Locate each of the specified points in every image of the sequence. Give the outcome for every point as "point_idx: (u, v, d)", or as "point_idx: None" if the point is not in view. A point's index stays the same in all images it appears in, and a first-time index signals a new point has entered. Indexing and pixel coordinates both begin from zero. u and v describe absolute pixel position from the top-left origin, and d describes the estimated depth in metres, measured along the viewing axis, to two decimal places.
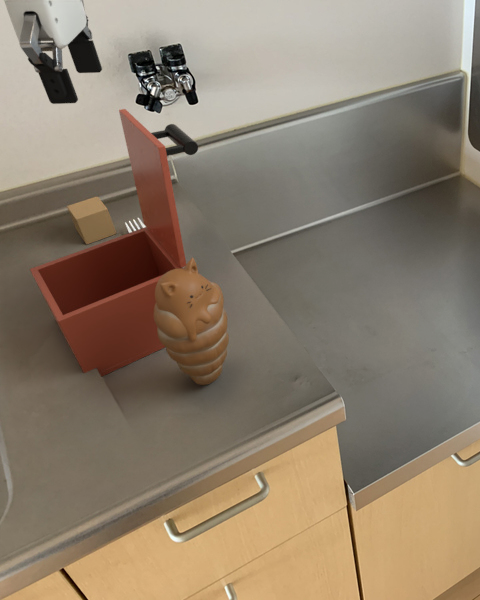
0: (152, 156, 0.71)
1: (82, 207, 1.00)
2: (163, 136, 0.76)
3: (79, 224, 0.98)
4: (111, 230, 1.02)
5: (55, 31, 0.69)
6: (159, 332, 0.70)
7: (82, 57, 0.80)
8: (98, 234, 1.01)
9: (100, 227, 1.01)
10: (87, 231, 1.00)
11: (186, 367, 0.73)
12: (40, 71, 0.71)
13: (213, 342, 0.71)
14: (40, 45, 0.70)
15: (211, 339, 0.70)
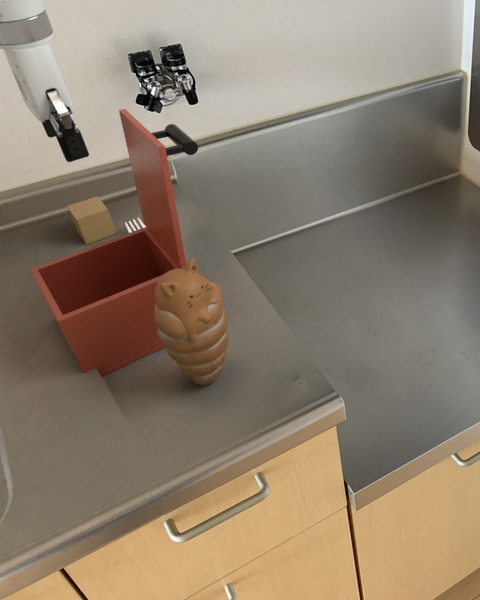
0: (152, 156, 0.71)
1: (82, 207, 1.00)
2: (163, 136, 0.76)
3: (79, 224, 0.98)
4: (111, 230, 1.02)
5: (70, 101, 0.85)
6: (159, 332, 0.70)
7: None
8: (98, 234, 1.01)
9: (100, 227, 1.01)
10: (87, 231, 1.00)
11: (186, 367, 0.73)
12: (64, 135, 0.85)
13: (213, 342, 0.71)
14: (56, 115, 0.85)
15: (211, 339, 0.70)
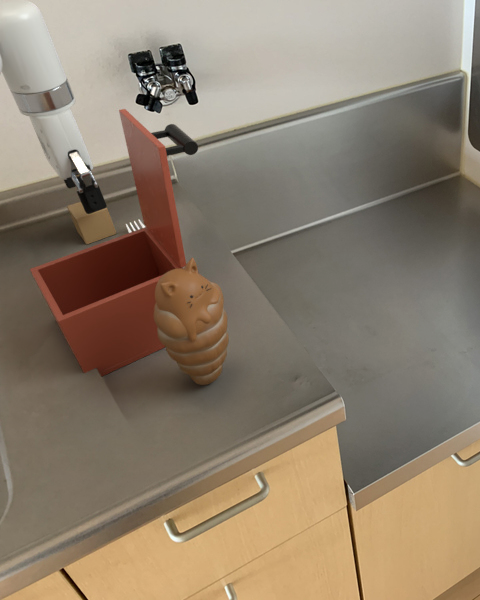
0: (152, 156, 0.71)
1: (82, 207, 1.00)
2: (163, 136, 0.76)
3: (79, 224, 0.98)
4: (111, 230, 1.02)
5: (89, 159, 0.92)
6: (159, 332, 0.70)
7: None
8: (98, 234, 1.01)
9: (100, 227, 1.01)
10: (87, 231, 1.00)
11: (186, 367, 0.73)
12: (84, 191, 0.92)
13: (213, 342, 0.71)
14: (77, 173, 0.92)
15: (211, 339, 0.70)
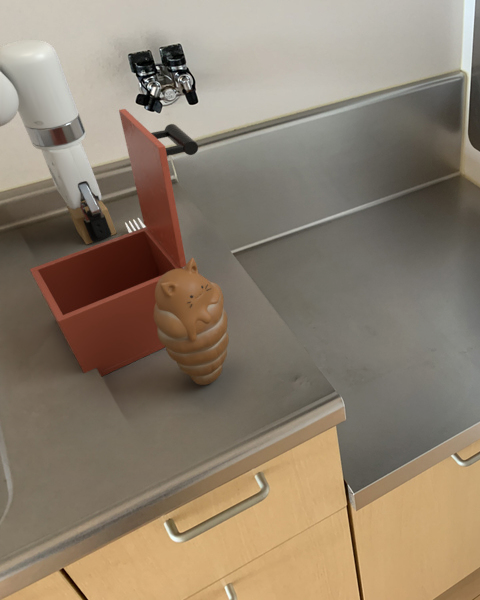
0: (152, 156, 0.71)
1: None
2: (163, 136, 0.76)
3: (79, 224, 0.98)
4: (111, 230, 1.02)
5: (98, 190, 0.95)
6: (159, 332, 0.70)
7: None
8: None
9: None
10: None
11: (186, 367, 0.73)
12: (91, 221, 0.97)
13: (213, 342, 0.71)
14: (86, 205, 0.96)
15: (211, 339, 0.70)
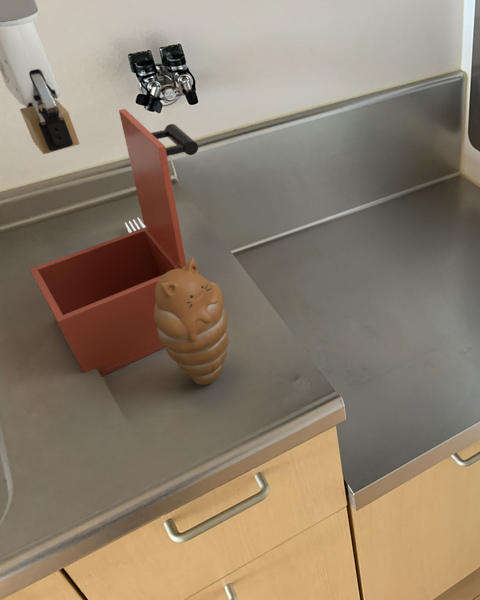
0: (152, 156, 0.71)
1: None
2: (163, 136, 0.76)
3: (34, 127, 0.83)
4: (73, 139, 0.87)
5: (55, 83, 0.80)
6: (159, 332, 0.70)
7: None
8: None
9: None
10: None
11: (186, 367, 0.73)
12: (47, 123, 0.83)
13: (213, 342, 0.71)
14: (41, 102, 0.81)
15: (211, 339, 0.70)
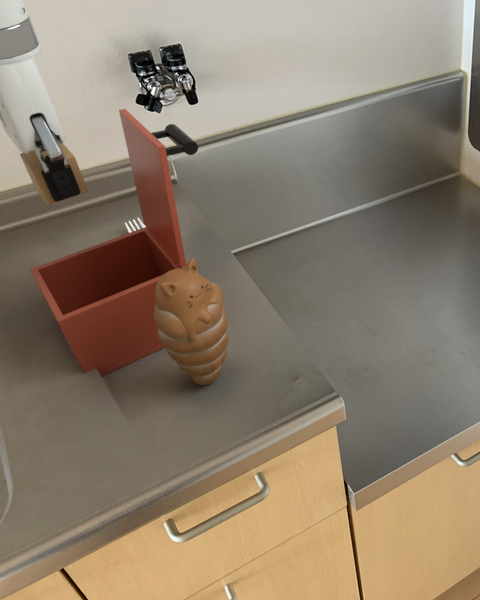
0: (152, 156, 0.71)
1: None
2: (163, 136, 0.76)
3: (36, 176, 0.73)
4: (81, 187, 0.77)
5: (60, 128, 0.69)
6: (159, 332, 0.70)
7: None
8: None
9: None
10: None
11: (186, 367, 0.73)
12: (51, 171, 0.72)
13: (213, 342, 0.71)
14: (43, 149, 0.71)
15: (211, 339, 0.70)
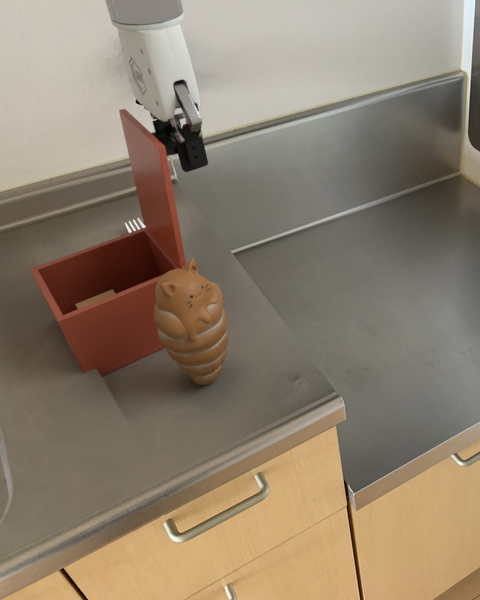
0: (152, 156, 0.71)
1: None
2: (163, 136, 0.76)
3: None
4: None
5: (198, 96, 0.69)
6: (159, 332, 0.70)
7: None
8: None
9: None
10: None
11: (186, 367, 0.73)
12: (185, 141, 0.71)
13: (213, 342, 0.71)
14: (180, 116, 0.70)
15: (211, 339, 0.70)
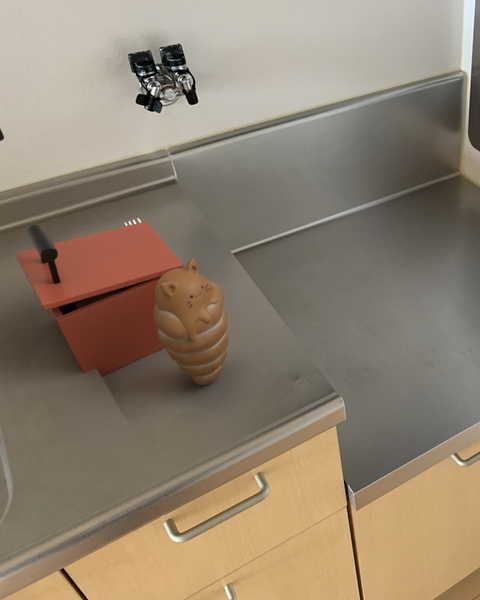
0: None
1: None
2: None
3: None
4: None
5: None
6: (159, 332, 0.70)
7: None
8: None
9: None
10: None
11: (186, 367, 0.73)
12: None
13: (213, 342, 0.71)
14: None
15: (211, 339, 0.70)
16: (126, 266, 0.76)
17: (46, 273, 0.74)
